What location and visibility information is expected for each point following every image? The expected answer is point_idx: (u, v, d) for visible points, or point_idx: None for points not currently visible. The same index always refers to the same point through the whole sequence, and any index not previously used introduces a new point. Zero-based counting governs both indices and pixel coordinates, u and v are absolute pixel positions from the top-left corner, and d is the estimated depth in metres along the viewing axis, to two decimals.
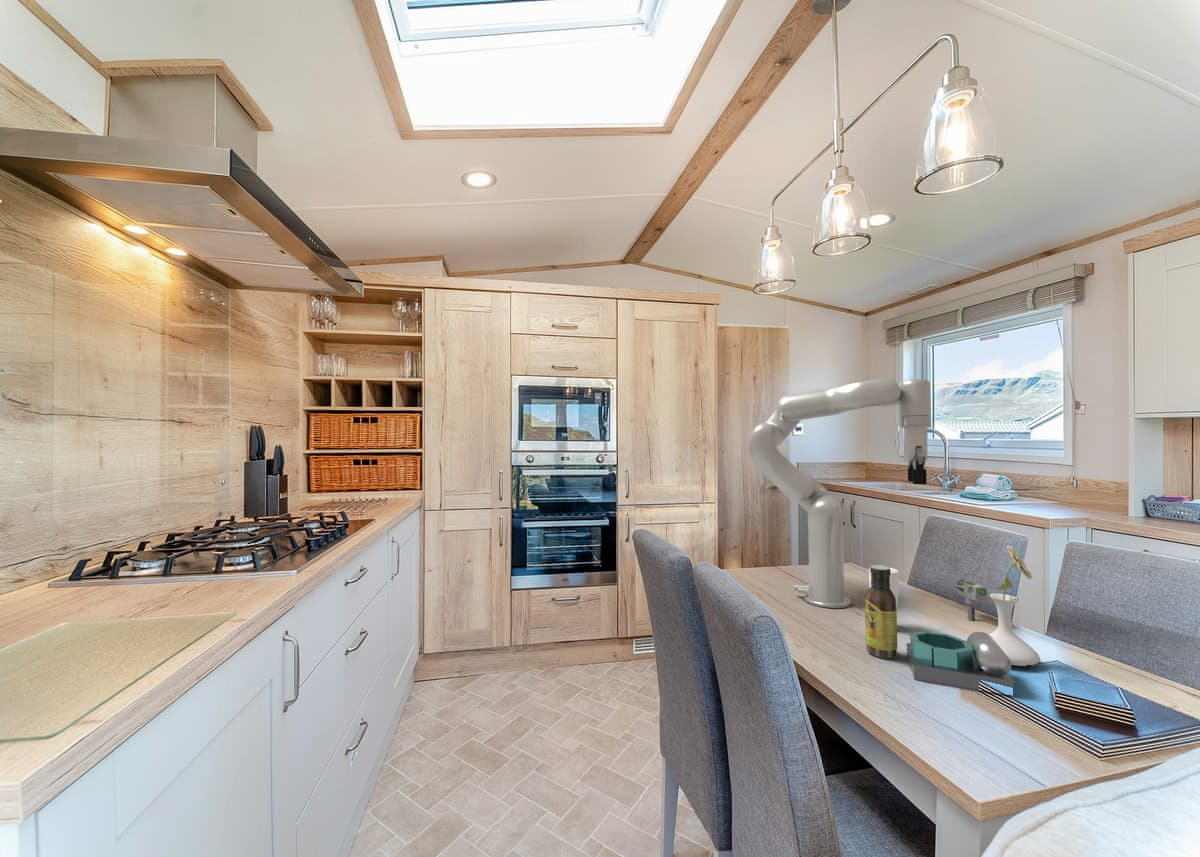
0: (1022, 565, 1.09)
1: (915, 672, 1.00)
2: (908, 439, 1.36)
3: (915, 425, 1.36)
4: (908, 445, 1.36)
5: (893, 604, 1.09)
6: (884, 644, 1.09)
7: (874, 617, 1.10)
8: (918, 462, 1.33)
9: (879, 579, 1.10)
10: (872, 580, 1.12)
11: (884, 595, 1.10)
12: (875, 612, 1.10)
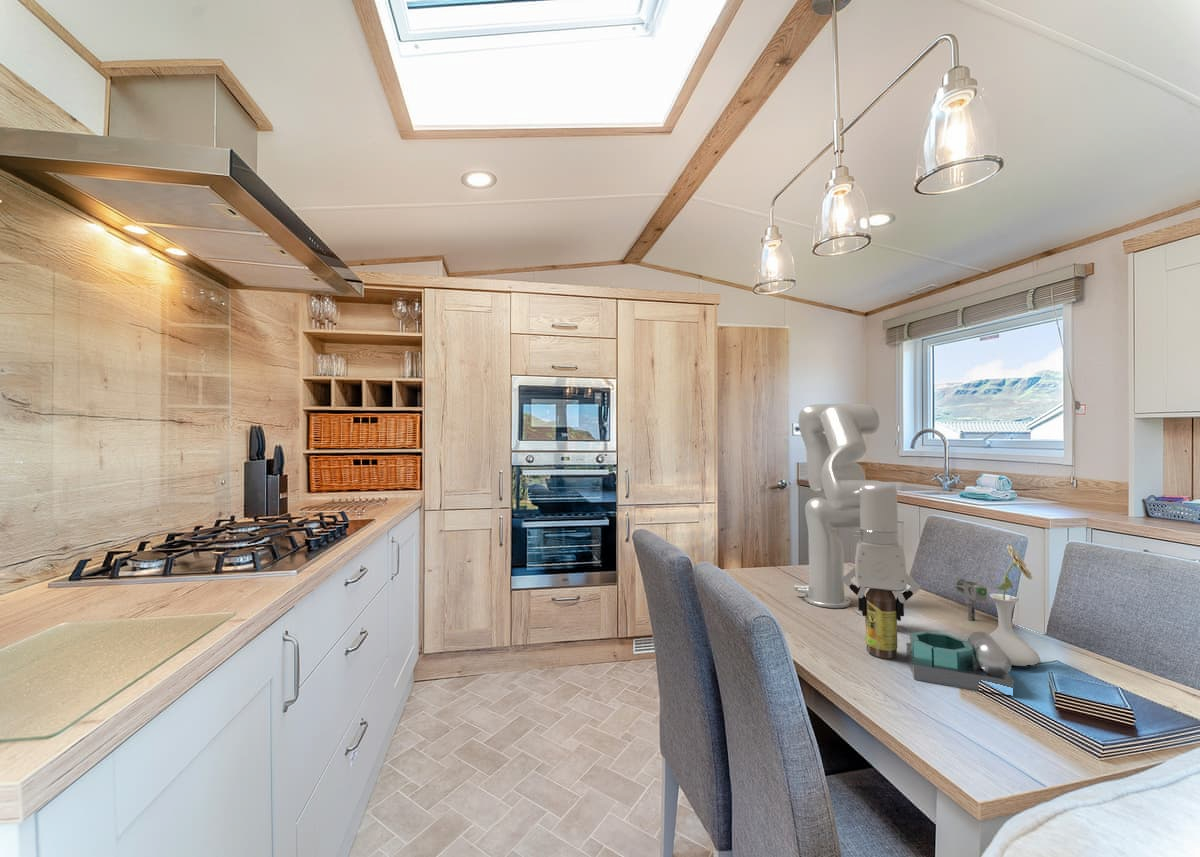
0: (1022, 565, 1.09)
1: (915, 672, 1.00)
2: (903, 562, 1.08)
3: None
4: (905, 570, 1.08)
5: (893, 604, 1.09)
6: (884, 644, 1.09)
7: (874, 617, 1.10)
8: (912, 594, 1.09)
9: None
10: None
11: (884, 595, 1.10)
12: (875, 612, 1.10)
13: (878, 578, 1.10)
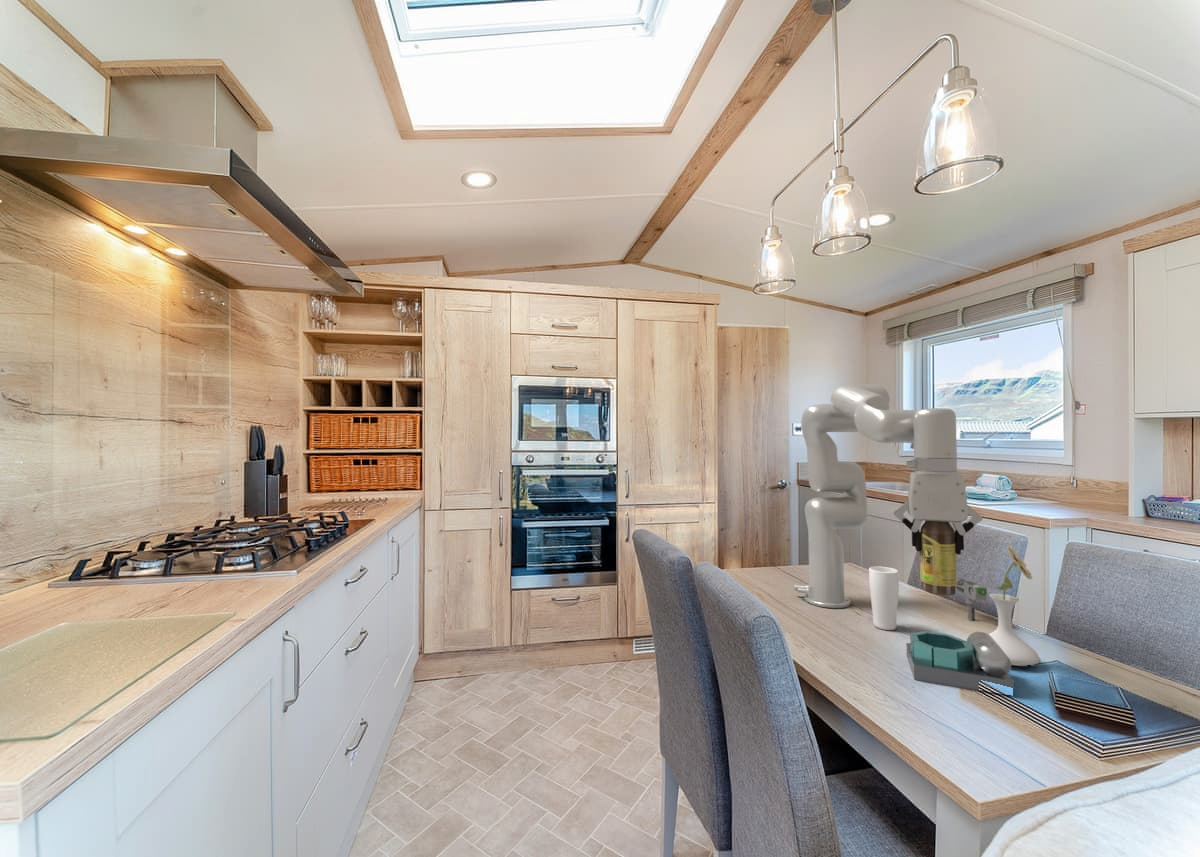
0: (1022, 565, 1.09)
1: (915, 672, 1.00)
2: (964, 491, 1.00)
3: None
4: (965, 499, 1.00)
5: (952, 536, 1.01)
6: (942, 579, 1.00)
7: (931, 551, 1.02)
8: None
9: None
10: None
11: (942, 526, 1.01)
12: (932, 545, 1.01)
13: (935, 509, 1.01)
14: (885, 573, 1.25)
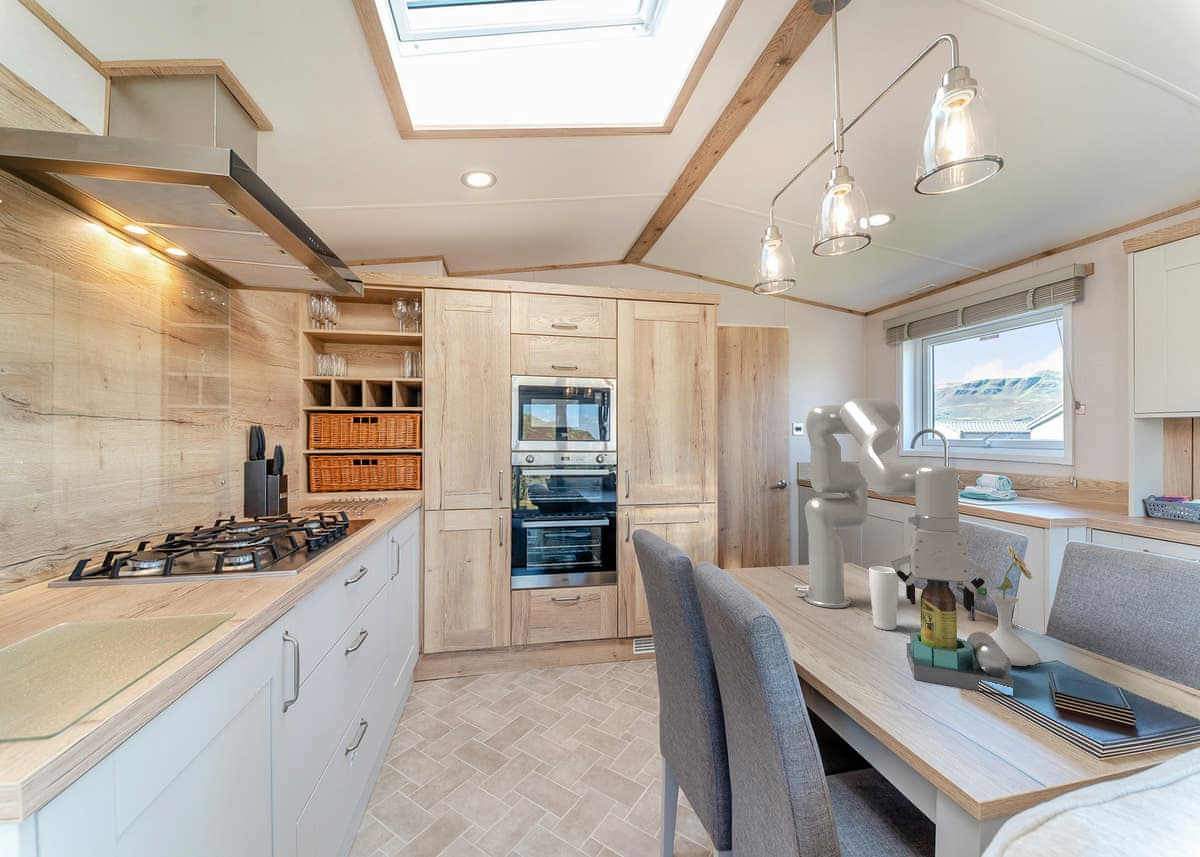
0: (1022, 565, 1.09)
1: (915, 672, 1.00)
2: (966, 551, 0.99)
3: None
4: (968, 559, 0.99)
5: (953, 603, 1.00)
6: (943, 646, 1.00)
7: (932, 617, 1.01)
8: (984, 581, 0.99)
9: None
10: None
11: (944, 593, 1.01)
12: (933, 612, 1.01)
13: (938, 568, 1.01)
14: (885, 573, 1.25)
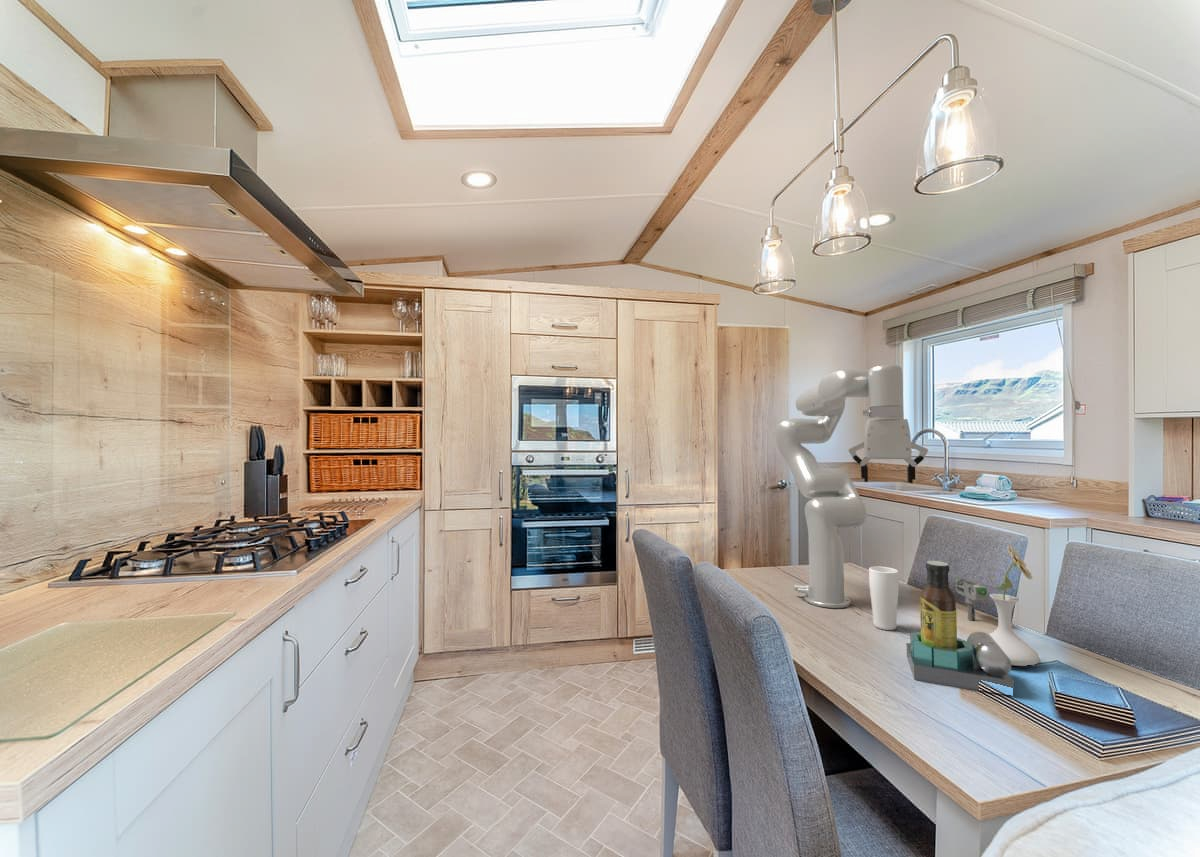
0: (1022, 565, 1.09)
1: (915, 672, 1.00)
2: (908, 432, 1.20)
3: (903, 417, 1.22)
4: (909, 439, 1.19)
5: (953, 603, 1.00)
6: (943, 646, 1.00)
7: (932, 617, 1.01)
8: (923, 458, 1.20)
9: (937, 576, 1.02)
10: (929, 577, 1.03)
11: (943, 593, 1.01)
12: (933, 612, 1.01)
13: (885, 448, 1.21)
14: (885, 573, 1.25)
